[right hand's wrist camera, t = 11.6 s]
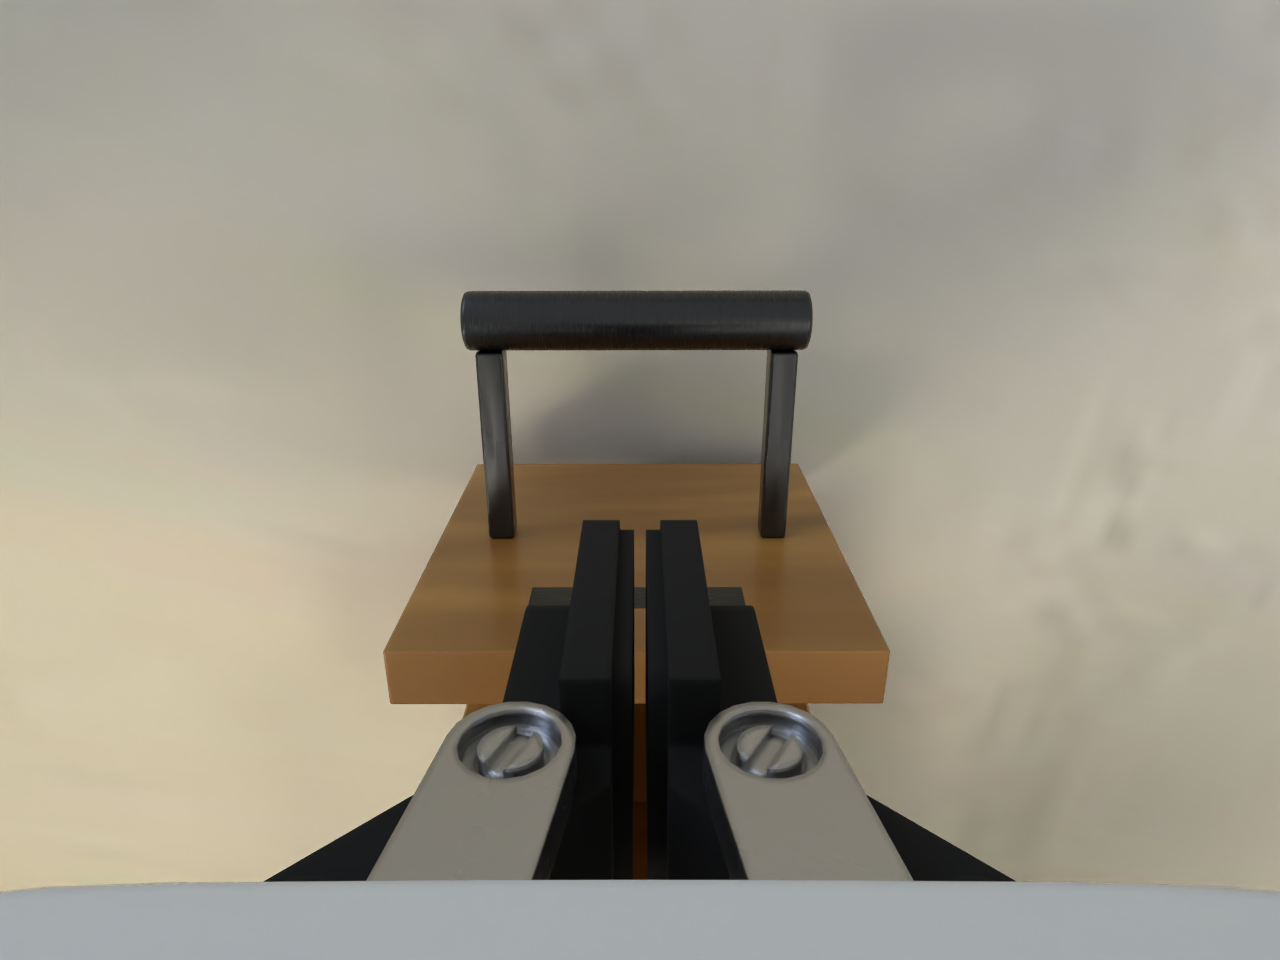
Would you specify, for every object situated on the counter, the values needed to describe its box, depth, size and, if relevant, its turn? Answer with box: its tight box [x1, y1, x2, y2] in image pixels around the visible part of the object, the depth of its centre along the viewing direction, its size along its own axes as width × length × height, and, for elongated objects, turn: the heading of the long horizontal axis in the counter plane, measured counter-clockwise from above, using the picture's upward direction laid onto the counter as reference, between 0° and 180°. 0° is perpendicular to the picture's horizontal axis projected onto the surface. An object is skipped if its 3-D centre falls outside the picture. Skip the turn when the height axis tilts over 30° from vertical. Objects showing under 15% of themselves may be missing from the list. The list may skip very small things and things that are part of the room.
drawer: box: [383, 291, 890, 880], centre depth 21 cm, size 18×9×10 cm, turn 0°
